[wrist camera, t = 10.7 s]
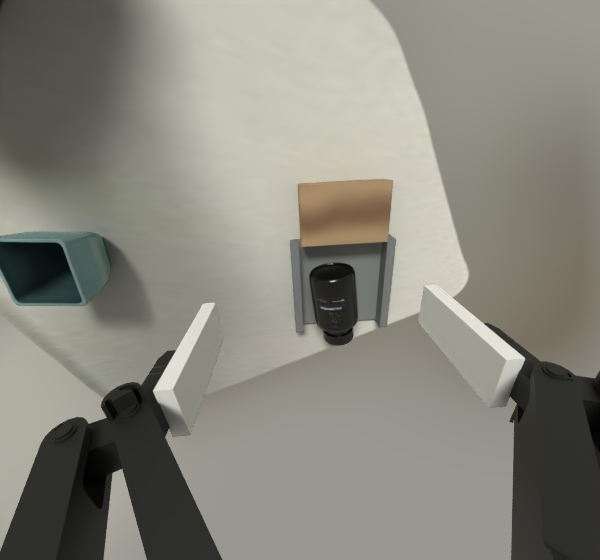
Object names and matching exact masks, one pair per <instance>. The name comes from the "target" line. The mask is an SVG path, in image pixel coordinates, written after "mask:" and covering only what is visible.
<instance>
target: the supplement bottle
mask: <svg viewBox="0 0 600 560" xmlns="http://www.w3.org/2000/svg"><path fill="white" fill-rule="evenodd" d="M309 281H310V288H311V295H312V302H313V308H314V315H315V320H316V323H317V325H318V326H319V327H320V328H321V329H322V330H323V333H324V338H325V340H326V342H328V343H329V344H332V345H344V344H347V343H349V342H350V341H351V340H352V338H353V327H354V326H355V324H356V323H357V321H358V304H357V288H356V274H355V270H354V268H353V267H352V266H351V265H349V264H346V263H338V262H335V263H326V264H322V265H319V266H317V267H315V268H314V269H312V271H311V272H310V274H309Z"/></svg>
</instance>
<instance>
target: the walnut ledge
mask: <svg viewBox="0 0 600 560" xmlns="http://www.w3.org/2000/svg"><path fill="white" fill-rule="evenodd" d="M392 188H393V180H387V179H373V180H355V181H337V182H320V183H302V184H298V197H299V217H300V236H301V245H302V247H308V246H325V245H341V244H358V243H375V242H388V231H389V220H390V209H391V199H392Z"/></svg>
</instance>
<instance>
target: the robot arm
mask: <svg viewBox="0 0 600 560" xmlns="http://www.w3.org/2000/svg"><path fill="white" fill-rule="evenodd" d="M1 1H2V0H0V4H1ZM418 322H419V323H420V325H421V326H422V327H423V328H424V329H425V331H426V332H427V333H428V334H429V335H430V337H431V338H432V339H433V340H434V342H435V343H436V344H437V345H438V346H439V348H440V349H441V350H442V351H443V352H444V354H445V355H446V356H447V357H448V359H449V360H450V361H451V362H452V363H453V365H454V366H455V367H456V368H457V370H458V371H459V372H460V373H461V374H462V376H463V377H464V378H465V379H466V381H467V382H468V383H469V384H470V385H471V387H472V388H473V389H474V390H475V392H476V393H477V394H478V395H479V397H480V398H481V399H482V400H483V401H484V403H485V404H486V405H487V406H488V407H489V408H493V407H503V406H506V405H507V402H508V400H509V398H510V397H511V398H512V399H513V400H514V401H515V402H516V403H517V405H516V407H515V410H514V412H513V415H512V417H511V420H510V422H512V423H513V421H514V460H513V505H512V506H513V507H512V508H513V509H512V550H511V560H600V371H599V373H598V375H597V376H596V378H588V377H580V376H575V375H574V374H573V373H571V372H570V371H569V370H567V369H565V368H564V367H562V366H559V365H557V364H554V363H550V362H541V361H539V360H538V359H537V358H536V357H534V356H533V355H532V354H530V353H529V352H528V351H527V350H525V349H524V348H523V347H522V346H520V345H519V344H518V343H516V342H515V341H514V340H513V339H511V338H510V337H508V336H507V335H506V334H505V333H504V332H503V331H501V330H500V329H499V328H496V327H495V326H492V325H491V324H488V323H484V324H483V323H482V322H481V321H479V320H478V319H477V318H476V317H475V316H473V315H472V314H471V313H470V312H469V311H467V310H466V309H465V308H464V307H463V306H461V305H460V304H459V303H458V302H457V301H455V300H454V299H453V298H452V297H451V296H449V295H448V294H447V293H446V292H445V291H443V290H442V289H441V288H440V287H439V286H437V285H424V289H423V296H422V302H421V308H420V314H419V321H418ZM223 340H224V336H223V331H222V327H221V323H220V319H219V315H218V311H217V306H216V303H205V304H203V305H202V307H201V308H200V310H199V312H198V314H197V315H196V317H195V319H194V320H193V322H192V324H191V326H190V327H189V329H188V331H187V333H186V334H185V336H184V338H183V340H182V341H181V343H180V345H179V347H178V348H177V350H174V351H167V352H166V353H164V354H163V355H162V356H161V357H160V358H159V359H158V360H157V362H156V364H155V365H154V368H152V370H151V371H150V373H149V375H148V376H147V378H146V379H145V381H144V382H143V384H142V385H140V384H138V383H134V382H132V383H126V384H123V385H121V386H118V387H117V388H115V389H114V390H112V391H111V392H110V393H108V394H107V395H106V396H105V398H104V399H103V401H102V404H101V408H102V410H103V411H104V413H105V415H106V417H107V418H105V419H102V420H99V421H96V422H93V423H91V424H88V422H87V421H86V419H84V418H81V417H76V418H72V419H69V420H67V421H65V422H63V423H61V424H59V425H58V426H57V427H55V428H54V429H52V430H51V431H50V432H49V433H48V434H47V435H46V436H45V438H44V439H43V441H42V443H41V445H40V448H39V451H38V453H37V456H36V458H35V461H34V464H33V466H32V469H31V472H30V474H29V477H28V480H27V482H26V485H25V487H24V490H23V493H22V495H21V498H20V501H19V503H18V506H17V508H16V511H15V514H14V517H13V519H12V522H11V524H10V527H9V530H8V532H7V535H6V538H5V540H4V543H3V546H2V548H1V551H0V560H103V557H104V548H105V539H106V529H107V520H108V510H109V501H110V491H111V481H112V473H113V472H115V471H118V470H120V469H123V473H124V477H125V480H126V484H127V487H128V491H129V495H130V499H131V502H132V506H133V510H134V513H135V517H136V521H137V525H138V528H139V532H140V536H141V539H142V543H143V547H144V551H145V554H146V557H147V560H222V558H221V556H220V554H219V552H218V550H217V547H216V545H215V543H214V541H213V539H212V537H211V535H210V533H209V530H208V528H207V526H206V524H205V522H204V520H203V518H202V515H201V513H200V511H199V509H198V507H197V505H196V503H195V500H194V499H193V496H192V494H191V492H190V490H189V488H188V486H187V483H186V481H185V479H184V477H183V475H182V473H181V471H180V468H179V466H178V464H177V462H176V460H175V458H174V456H173V454H172V451H171V449H170V447H169V445H168V443H167V441H166V439H165V436H166V434H167V431H168V429H170V431H171V434H172V436H173V437H174V436H186V435H191V432H192V429H193V427H194V424H195V421H196V418H197V415H198V412H199V409H200V406H201V403H202V401H203V398H204V395H205V392H206V389H207V386H208V383H209V380H210V378H211V375H212V372H213V369H214V366H215V363H216V360H217V357H218V354H219V352H220V349H221V346H222V343H223Z"/></svg>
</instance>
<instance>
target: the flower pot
mask: <svg viewBox="0 0 600 560" xmlns="http://www.w3.org/2000/svg"><path fill="white" fill-rule="evenodd" d="M0 276H1V278H2V279H3V281H4V283H5V285H6V287H7V289H8V291H9V293H10V296H11V298H12V300H13V301H14V303H15V304H16V305H18V306H84V305H86V304H87V303H88V302H89V301H90V300H91V299H92V298H93V297H94V296H96V295H97V294H98V293H99V292H100V291H101V290H102V289H103V287H104V286H105V285H106V283H107V282H108V279H109V276H110V262H109V259H108V256H107V253H106V249H105V246H104V243H103V239H102V237H101V236H100V235H98V234H96V233H90V232H25V233H18V234H11V235H4V236H0Z"/></svg>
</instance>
